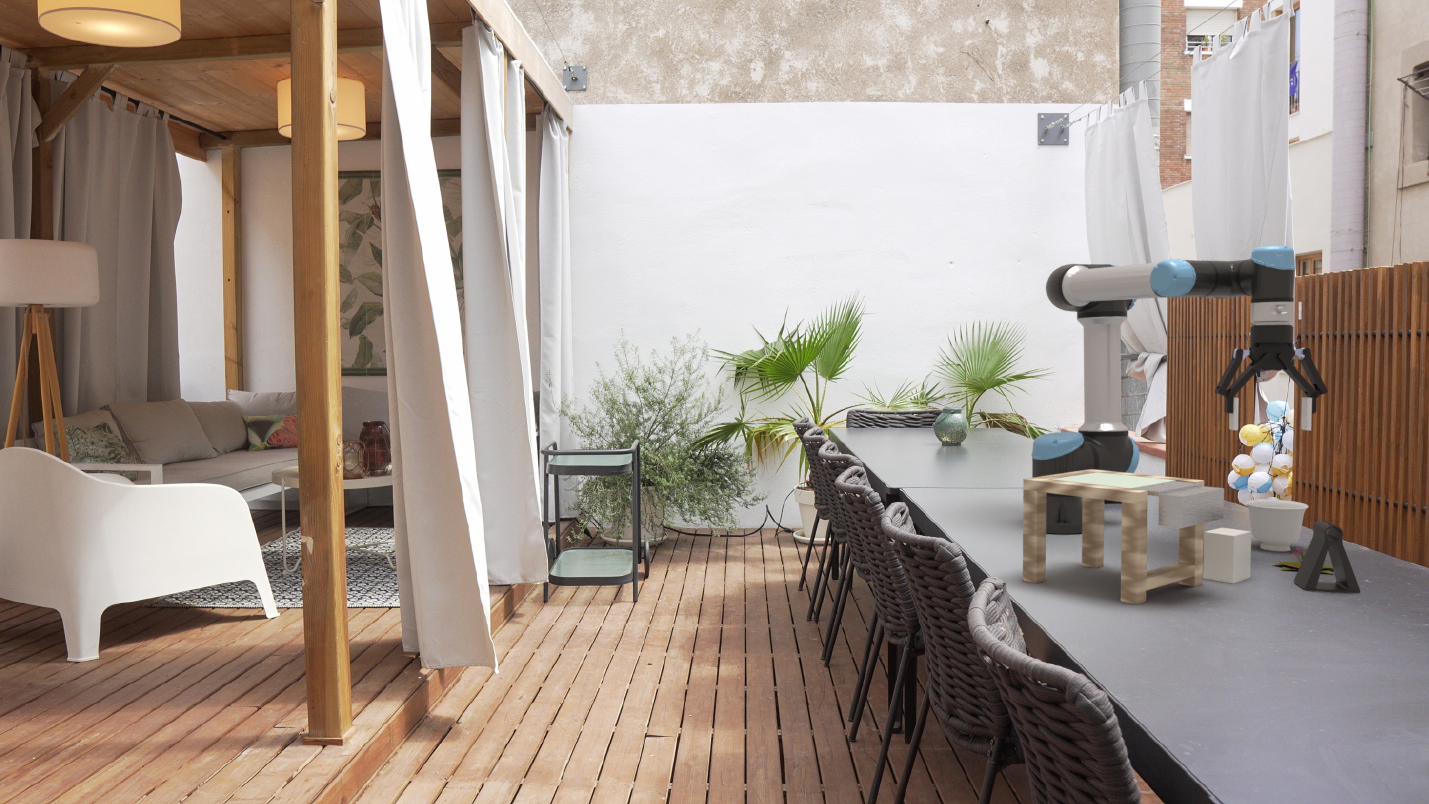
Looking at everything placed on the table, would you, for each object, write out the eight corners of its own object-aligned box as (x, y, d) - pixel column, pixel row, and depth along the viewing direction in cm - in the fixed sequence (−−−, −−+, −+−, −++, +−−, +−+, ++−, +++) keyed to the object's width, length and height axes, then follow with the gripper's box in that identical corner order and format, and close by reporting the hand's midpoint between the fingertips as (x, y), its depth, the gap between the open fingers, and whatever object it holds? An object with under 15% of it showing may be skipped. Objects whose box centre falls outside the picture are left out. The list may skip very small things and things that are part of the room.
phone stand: (1347, 585, 180) (1349, 521, 180) (1360, 593, 174) (1362, 526, 174) (1293, 582, 182) (1294, 519, 182) (1304, 590, 177) (1305, 525, 176)
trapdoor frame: (1022, 580, 186) (1023, 479, 185) (1090, 563, 200) (1091, 469, 199) (1137, 604, 168) (1138, 492, 167) (1202, 584, 182) (1204, 480, 181)
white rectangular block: (1203, 578, 187) (1204, 531, 186) (1221, 573, 191) (1221, 527, 191) (1233, 583, 182) (1233, 536, 182) (1250, 578, 187) (1251, 531, 186)
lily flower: (1271, 574, 192) (1272, 551, 191) (1269, 562, 202) (1269, 540, 202) (1344, 580, 186) (1344, 556, 186) (1337, 567, 197) (1338, 545, 196)
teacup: (1284, 541, 221) (1285, 497, 220) (1318, 555, 206) (1319, 508, 206) (1229, 540, 222) (1229, 497, 222) (1258, 554, 207) (1259, 507, 207)
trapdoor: (1224, 518, 175) (1225, 485, 174) (1179, 528, 165) (1180, 494, 165) (1097, 501, 195) (1097, 472, 194) (1050, 510, 185) (1050, 479, 185)
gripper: (1211, 324, 193) (1210, 431, 194) (1348, 322, 189) (1346, 431, 191) (1199, 325, 201) (1197, 428, 202) (1330, 323, 197) (1328, 428, 198)
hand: (1269, 430), depth 196 cm, fingers open, 13 cm apart
